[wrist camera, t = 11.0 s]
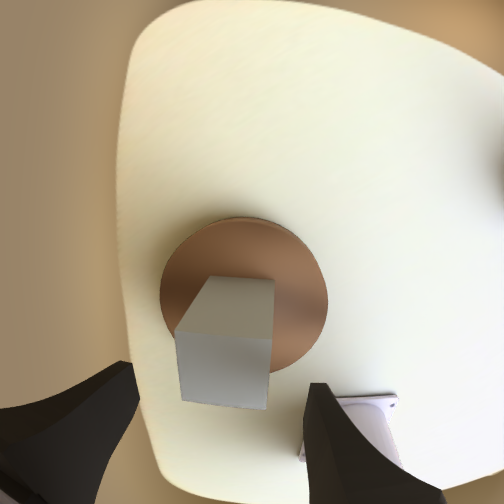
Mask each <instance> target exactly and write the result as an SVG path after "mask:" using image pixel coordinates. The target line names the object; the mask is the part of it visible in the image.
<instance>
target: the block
mask: <svg viewBox="0 0 504 504" xmlns="http://www.w3.org/2000/svg"><path fill="white" fill-rule="evenodd" d="M274 290H275V280H268V279H252V278H237V277H222V276H210V277H209V278H208V280H207V281H206V283H205V284H204V286H203V287H202V289H201V290H200V292H199V293H198V295H197V296H196V298H195V299H194V301H193V302H192V304H191V305H190V307H189V308H188V310H187V311H186V313H185V315H184V316H183V318H182V319H181V321H180V322H179V324H178V325H177V327H176V328H175V330H174V333H175V344H176V354H177V363H178V372H179V380H180V388H181V396H182V400H184V401H190V402H196V403H203V404H210V405H218V406H227V407H236V408H247V409H259V410H266V405H267V394H268V383H269V372H270V361H271V349H272V335H273V314H274Z"/></svg>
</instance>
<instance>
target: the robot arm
mask: <svg viewBox="0 0 504 504" xmlns="http://www.w3.org/2000/svg"><path fill="white" fill-rule="evenodd" d="M139 400H140V396H139V392H138V387H137V383H136V378H135V374H134V369H133V364H132V363H129V362H125V361H118V362H116V363H114V364H112V365H111V366H109V367H107V368H105V369H104V370H102V371H101V372H99V373H97V374H95V375H94V376H92V377H90V378H88V379H87V380H85V381H83V382H81V383H79V384H77V385H75V386H73V387H72V388H69V389H67V390H66V391H64V392H61V393H59V394H57V395H54V396H52V397H49V398H46V399H44V400H40V401H37V402H34V403H29V404H26V405H22V406H16V407H10V408H3V409H0V504H94V503H95V499H96V495H97V492H98V489H99V486H100V483H101V480H102V477H103V474H104V471H105V469H106V467H107V464H108V461H109V459H110V457H111V455H112V453H113V452H114V450H115V448H116V446H117V445H118V443H119V441H120V439H121V438H122V436H123V434H124V432H125V431H126V429H127V427H128V425H129V424H130V422H131V420H132V418H133V416H134V414H135V411H136V409H137V406H138V403H139ZM398 401H399V398H398V396H397V395H388V396H374V397H355V398H335V396H334V394H333V393H332V391H331V389H330V388H329V386H328V385H327V384H326V383H310V388H309V393H308V398H307V403H306V408H305V413H304V417H303V443H302V447H301V451H300V454H299V461H300V462H306V464H307V472H308V480H309V493H310V494H309V504H447V502H446V499H445V497H444V495H443V493H442V491H441V489H438V488H436V487H434V486H432V485H430V484H427V483H425V482H423V481H421V480H419V479H417V478H416V477H414V476H412V475H411V474H409V473H407V472H406V471H404V469H403V466H402V463H401V460H400V457H399V454H398V451H397V448H396V445H395V442H394V440H393V437H392V434H391V431H390V428H389V425H388V424H389V421H390V419H391V417H392V415H393V413H394V410H395V408H396V406H397V403H398ZM392 403H393V404H392ZM390 404H391V405H390Z"/></svg>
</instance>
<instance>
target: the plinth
mask: <svg viewBox="0 0 504 504" xmlns="http://www.w3.org/2000/svg"><path fill="white" fill-rule="evenodd" d="M210 276H222V277H237V278H252V279H268V280H275V290H274V314H273V335H272V349H271V361H270V372H269V373H272V372H275V371H278V370H281V369H283V368H285V367H287V366H289V365H291V364H293V363H294V362H296V361H297V360H298V359H300V358H301V357H302V356H304V355H305V354H306V353H307V352H308V351H309V350H310V349H311V347H312V346H313V345H314V343H315V342H316V341H317V339H318V337H319V335H320V334H321V332H322V329H323V326H324V324H325V320H326V316H327V309H328V296H327V289H326V285H325V281H324V278H323V275H322V273H321V270H320V268H319V266H318V263H317V261H316V260H315V258H314V256H313V254H312V253H311V251H310V250H309V249H308V247H307V246H306V245H305V244H304V243H303V242H302V241H301V240H300V239H299V238H298V237H297V236H296V235H294V234H293V233H292V232H290V231H289V230H287V229H285V228H284V227H282V226H280V225H278V224H275V223H273V222H270V221H267V220H263V219H259V218H251V217H234V218H228V219H223V220H220V221H217V222H214V223H212V224H210V225H207V226H205V227H204V228H202V229H201V230H199V231H197V232H196V233H195V234H193V235H192V236H190V237H189V238H188V239H187V240H186V241H184V242H183V243H182V244H181V245H180V246H179V247H178V248H177V249H176V251H175V252H174V253H173V254H172V256H171V258H170V259H169V261H168V263H167V265H166V267H165V269H164V272H163V276H162V279H161V285H160V304H161V310H162V314H163V317H164V320H165V323H166V325H167V327H168V329H169V331H170V333H171V334H172V336H173V338H174V339H175V333H174V330H175V328H176V327H177V325H178V324H179V322H180V321H181V319H182V318H183V316H184V315H185V313H186V311H187V310H188V308H189V307H190V305H191V304H192V302H193V301H194V299H195V298H196V296H197V295H198V293H199V292H200V290H201V289H202V287H203V286H204V284H205V283H206V281H207V280H208V278H209V277H210Z"/></svg>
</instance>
